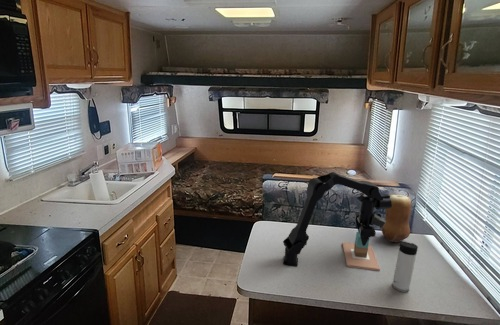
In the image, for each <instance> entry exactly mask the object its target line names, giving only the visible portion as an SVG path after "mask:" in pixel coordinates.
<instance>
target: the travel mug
mask: <svg viewBox="0 0 500 325" xmlns="http://www.w3.org/2000/svg"><path fill="white" fill-rule="evenodd" d="M418 248H419V247H418V245H416V244H415V243H412V242H407V241H400V242H399V247H398V252H397V253H398V254H397V259H396V262H395V270H394V274H393V279H392V284H391V285H392V287H393V288H394V289H395V290H397V291H399V292H402V293H403V292H404V293H408V292H409V290H410V287H411V282H412V278H413V272H414V268H415V263H416V258H417V255H418V254H417V252H418Z"/></svg>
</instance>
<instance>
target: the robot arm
mask: <svg viewBox="0 0 500 325" xmlns="http://www.w3.org/2000/svg"><path fill="white" fill-rule="evenodd" d="M337 184H338V185H340V186H344V187H347V188H350V189H352V190H356V191H358V192H360V193H362V194H361V195H359V196H358V197H356V199H357V200H358V201H360V206H359V209H358V212H355V214H354V220H355V224H356V228H357V232H359V233H360V237H361V241H362V245H363V246H365V245H366V243H367V241H368V239H369V238H374V237H376V230H375V228H374V227H373V226H374V225H375V226H377V227H379V228H381V229H382V228H383V226H384V224H385V223H386V221H385V220H384V219H385V218H384V217H382V214H381V213H380V212H376V213H375V212H374V210H375V209H376V210H377V211H378V210H385V209H390V208H391V206H392V203H391V199H390V195H391V194H390V195H389V194H388V193H386V194H385V193H384V194H381V193H380V189H379V186H377V185H375V184H374V183H372V182H370V181H367V180H357V179H354V178H350V177H349V176H345V175H343V174H341V173H340V174H339V173H337V172H335V171H332V172H329V173H327V174H324V175H323V174H322V175H319V176H317V177H313V178H310V179H309V180H308V183H307V187H306V198H305V202H304V204H303V207H302V209H301V211H300V215H299V217H298V220H297V223H296V225H295V226H294V227H293V228H292V229H291V231H290V233H289V234H288V236H287V237H286V238H285V239H284V240H283V241H282V242H283V245H284V247H285V249H284V255H283V260H282V265H284V266H290V267H291V266H292V267H298V266H299V265H298V264H299V257H298V255H300V254H301V251H302V250H303V249H304V247H305V246H307V243H308V241H309V238H310V236H309V235H308V234H307V230H308V228H309V224H310V222H311V219H312V216H313V215H314V211H315V209H316V206H317V203H318V202H319V201H320V200H321V199H322V198H323V197H324V195H325V193H326V192H328V191H330V190H331V189H332V188H333V187H334V186H335V185H337ZM364 195H365V196H364ZM369 240H370V239H369Z"/></svg>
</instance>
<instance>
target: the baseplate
mask: <svg viewBox="0 0 500 325" xmlns="http://www.w3.org/2000/svg"><path fill="white" fill-rule="evenodd" d="M341 246H342V250H343V255H344V259H345V264H346V267H348V268H355V269H364V270H369V271H370V270H371V271H381V268H380V264H379V262H378V260H377V257H376V254H375V251H374V249H373V246H372V245H368V251H367V258H364V257H356V256H355V253H354V246H355V242H354V243H352V242H346V241H345V242H344V241H342V245H341Z"/></svg>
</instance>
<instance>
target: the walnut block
mask: <svg viewBox="0 0 500 325" xmlns="http://www.w3.org/2000/svg"><path fill="white" fill-rule="evenodd" d="M354 244H355V246H354V253H355V256H356V257H364V258H367V251H368V248H362V247H357V246H356V242H355V241H354Z"/></svg>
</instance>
